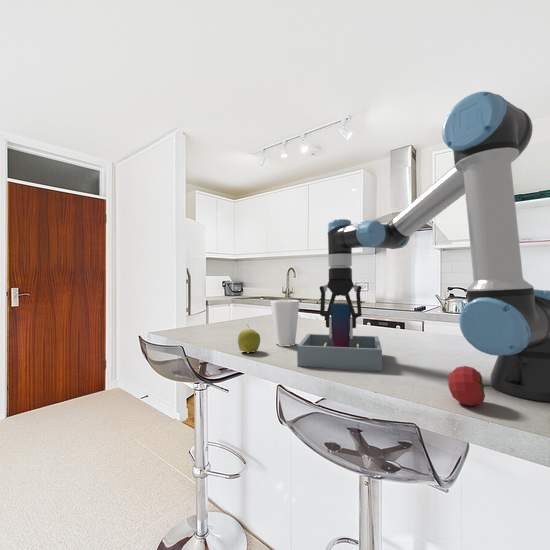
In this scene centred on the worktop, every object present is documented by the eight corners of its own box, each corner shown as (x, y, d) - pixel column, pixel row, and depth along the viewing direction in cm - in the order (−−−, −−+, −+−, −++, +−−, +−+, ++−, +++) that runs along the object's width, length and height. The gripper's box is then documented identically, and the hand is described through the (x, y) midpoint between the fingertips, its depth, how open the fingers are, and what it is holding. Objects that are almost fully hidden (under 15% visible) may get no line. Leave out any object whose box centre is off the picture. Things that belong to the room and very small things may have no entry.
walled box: (382, 371, 92) (381, 349, 91) (297, 366, 98) (297, 346, 98) (378, 354, 111) (378, 336, 111) (307, 350, 117) (307, 333, 117)
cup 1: (303, 346, 124) (303, 301, 124) (278, 349, 120) (278, 302, 120) (291, 340, 134) (290, 299, 134) (268, 343, 131) (267, 300, 130)
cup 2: (352, 352, 104) (351, 304, 104) (330, 351, 105) (329, 304, 105) (351, 347, 111) (350, 303, 111) (331, 346, 112) (330, 302, 112)
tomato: (443, 360, 70) (484, 358, 66) (452, 375, 75) (492, 375, 70) (445, 396, 66) (489, 397, 61) (455, 411, 70) (497, 413, 66)
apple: (233, 352, 112) (236, 323, 115) (240, 353, 119) (243, 326, 122) (255, 353, 110) (257, 323, 113) (261, 354, 117) (263, 327, 120)
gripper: (369, 267, 109) (370, 336, 109) (313, 268, 114) (313, 334, 114) (370, 266, 102) (371, 341, 102) (309, 267, 107) (310, 339, 107)
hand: (341, 337), depth 108 cm, fingers closed on cup 2, 6 cm apart
